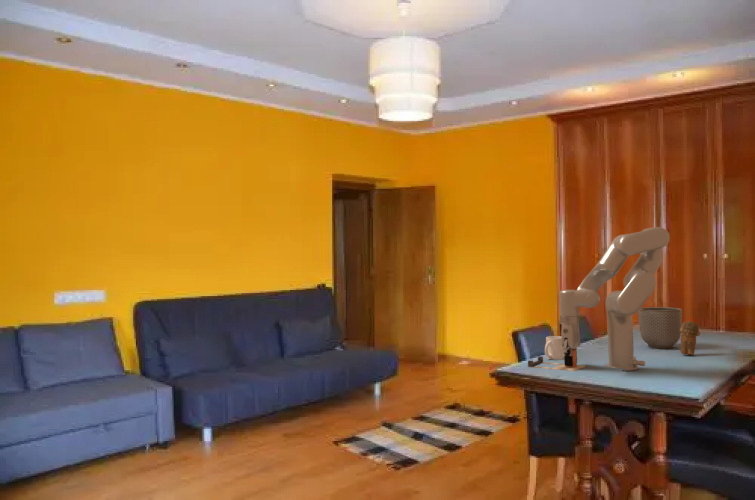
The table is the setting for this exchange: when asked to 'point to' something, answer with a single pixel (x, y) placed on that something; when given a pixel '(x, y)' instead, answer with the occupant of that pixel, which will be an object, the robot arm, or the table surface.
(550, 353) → the mug
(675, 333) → the planter
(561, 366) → the shelf board
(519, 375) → the table surface
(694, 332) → the figurine
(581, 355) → the table surface
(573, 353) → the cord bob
